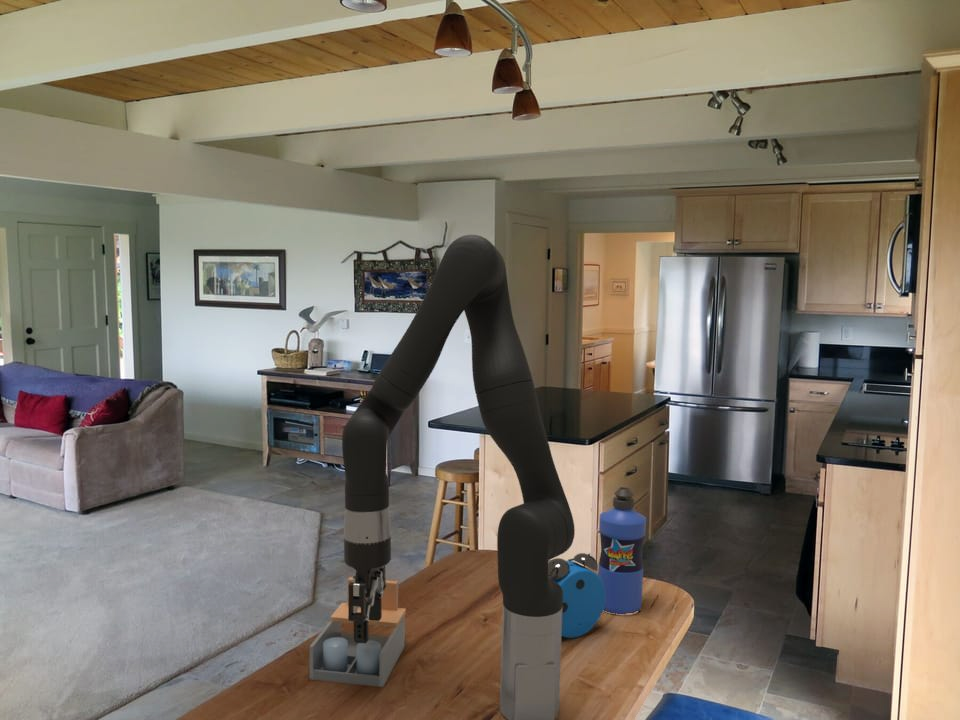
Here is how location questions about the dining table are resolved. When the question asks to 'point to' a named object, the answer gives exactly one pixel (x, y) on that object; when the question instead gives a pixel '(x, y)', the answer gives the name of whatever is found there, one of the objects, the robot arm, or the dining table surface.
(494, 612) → the dining table surface
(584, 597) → the alarm clock
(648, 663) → the dining table surface
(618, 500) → the water bottle
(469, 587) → the dining table surface
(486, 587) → the dining table surface
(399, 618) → the lid
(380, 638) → the housing
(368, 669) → the blue-grey rounded cylinder
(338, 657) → the grey rounded cylinder
